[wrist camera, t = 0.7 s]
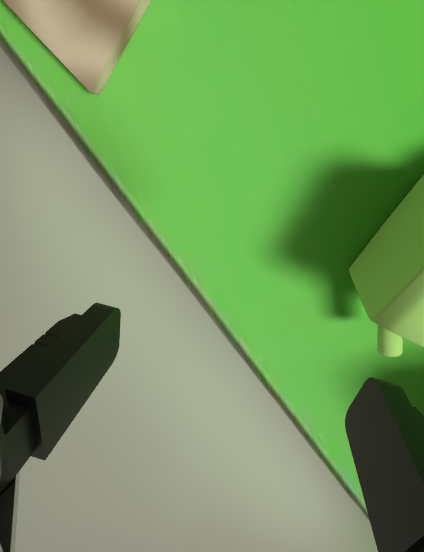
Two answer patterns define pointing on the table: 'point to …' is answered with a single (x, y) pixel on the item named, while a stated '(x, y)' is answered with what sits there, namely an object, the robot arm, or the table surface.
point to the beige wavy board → (83, 32)
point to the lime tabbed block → (395, 275)
